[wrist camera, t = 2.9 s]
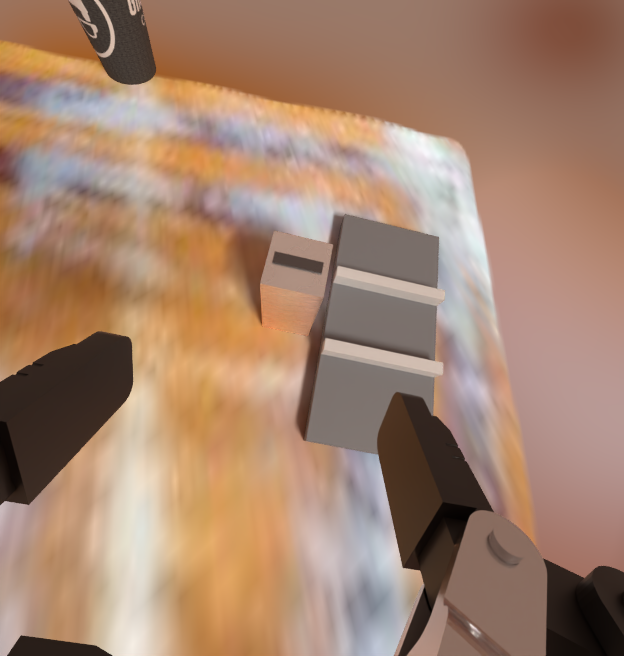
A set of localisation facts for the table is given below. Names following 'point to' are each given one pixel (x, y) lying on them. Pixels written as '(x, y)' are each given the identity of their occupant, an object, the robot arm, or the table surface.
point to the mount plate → (375, 332)
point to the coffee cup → (118, 37)
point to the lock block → (293, 282)
